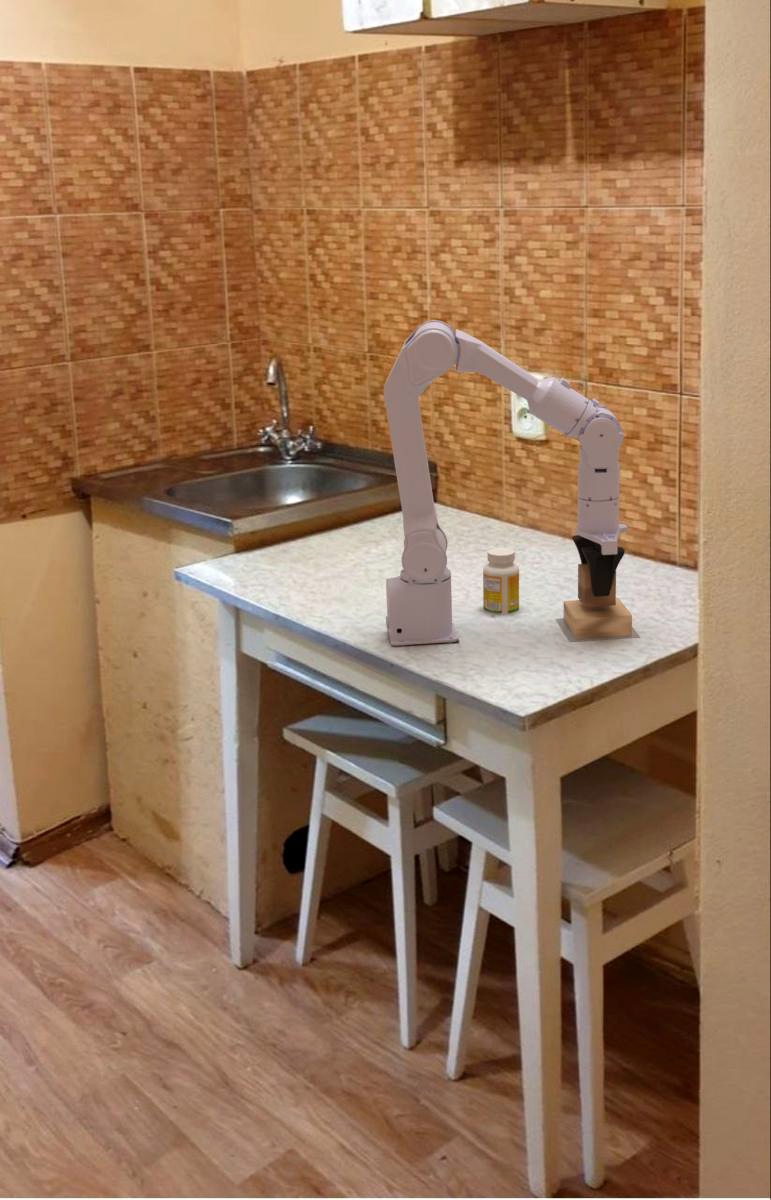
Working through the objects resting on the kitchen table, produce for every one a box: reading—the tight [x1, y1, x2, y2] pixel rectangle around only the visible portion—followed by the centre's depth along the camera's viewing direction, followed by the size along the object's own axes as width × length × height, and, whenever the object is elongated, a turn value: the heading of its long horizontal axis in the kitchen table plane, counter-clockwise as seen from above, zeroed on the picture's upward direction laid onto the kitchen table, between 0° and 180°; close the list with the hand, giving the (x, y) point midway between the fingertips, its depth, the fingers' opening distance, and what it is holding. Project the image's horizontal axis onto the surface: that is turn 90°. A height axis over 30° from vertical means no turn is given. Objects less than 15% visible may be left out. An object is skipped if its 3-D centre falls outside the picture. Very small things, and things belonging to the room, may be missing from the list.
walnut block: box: [577, 563, 617, 607], centre depth 183 cm, size 4×4×5 cm
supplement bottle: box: [482, 547, 520, 616], centre depth 193 cm, size 5×5×10 cm
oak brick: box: [563, 597, 633, 639], centre depth 184 cm, size 8×8×3 cm
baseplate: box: [555, 617, 642, 643], centre depth 185 cm, size 10×10×1 cm
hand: (597, 590), depth 183 cm, fingers closed on walnut block, 4 cm apart
